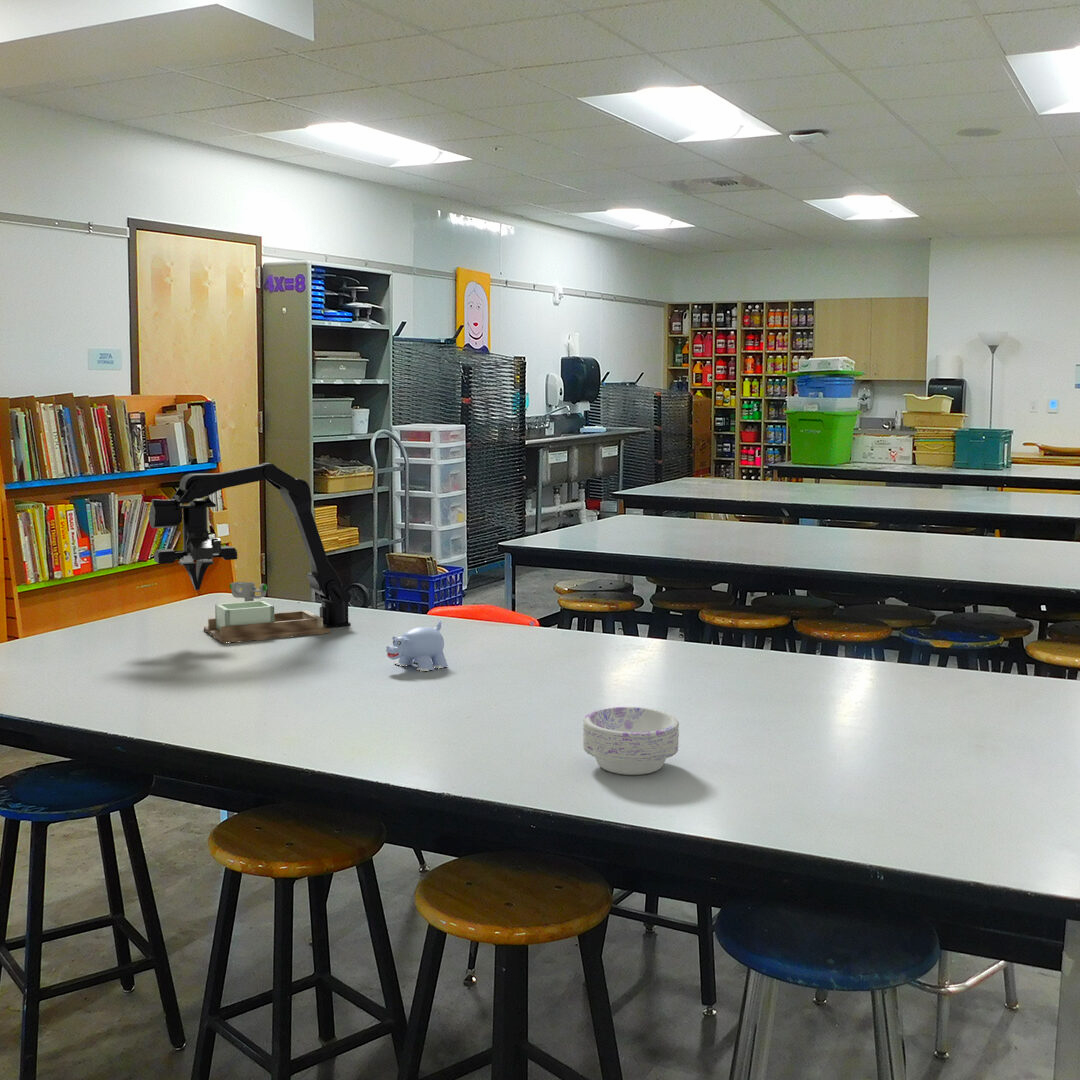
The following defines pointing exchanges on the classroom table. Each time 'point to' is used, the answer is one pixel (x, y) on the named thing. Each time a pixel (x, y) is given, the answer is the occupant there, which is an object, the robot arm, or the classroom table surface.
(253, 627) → the wooden serving tray
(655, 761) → the paper bowls
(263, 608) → the sage green bevelled box
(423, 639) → the hippopotamus toy
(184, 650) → the classroom table surface
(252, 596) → the mechanical component
